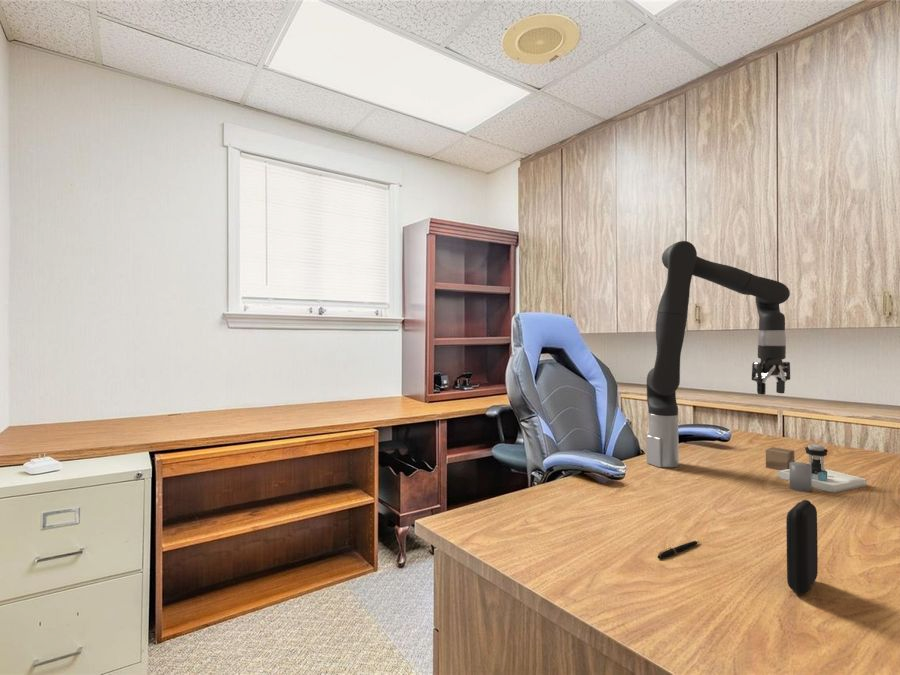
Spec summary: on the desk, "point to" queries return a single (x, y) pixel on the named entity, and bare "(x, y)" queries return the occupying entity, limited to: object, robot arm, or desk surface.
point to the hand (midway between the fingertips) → (770, 393)
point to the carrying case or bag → (802, 547)
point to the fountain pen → (675, 550)
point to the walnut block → (779, 458)
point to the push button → (817, 461)
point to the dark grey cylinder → (800, 476)
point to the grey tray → (839, 483)
